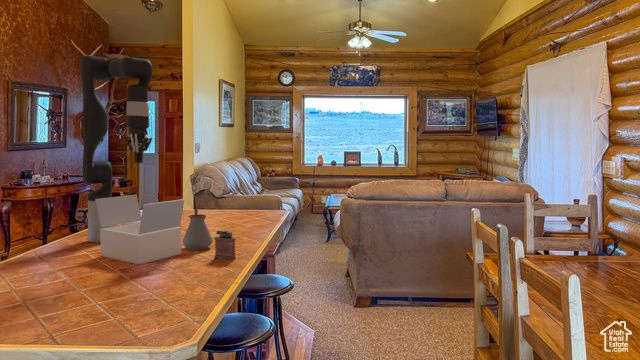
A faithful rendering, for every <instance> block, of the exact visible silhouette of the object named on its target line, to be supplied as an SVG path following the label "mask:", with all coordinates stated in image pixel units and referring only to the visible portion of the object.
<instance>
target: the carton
mask: <svg viewBox="0 0 640 360" xmlns="http://www.w3.org/2000/svg"><path fill="white" fill-rule="evenodd" d="M140 224H141V221H137V222H131V223H125V224H119V225H113V227H108V228H102V229H100V238H101V242H100V256H101V257H105V258H108V259H114V260H116V261H117V260H118V261H121V262H127V263H130V264H135V265H144V264H149V263H151V262H156V261H159V260H163V259H167V258H171V257H174V256H175V257H176V256H178V255H182V233H181V232H182V230H181V229H182V228H181V226H179V227H174V228H169V229H164V230H159V231H153V232H148V233H143V234H139V231H140Z"/></svg>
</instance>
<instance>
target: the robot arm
mask: <svg viewBox="0 0 640 360" xmlns="http://www.w3.org/2000/svg"><path fill="white" fill-rule="evenodd" d="M153 72H154V69H153V64H152V63H151V61H150V60H149V59H146V58H140V57H133V56H132V57H130V56H125V57H121V58H115V59H111V58H110V59H109V58H107V57H104V56H97V55H96V56H95V55H84V56H83V57H82V58H81V61H80V76H81V89H82V130H83V131H82V134H83V135H82V137H83V151H82V153H83V154H82V170H81V171H82V180H83V183H84V184H86V185H93V184H94V185H95V184H101V186H100V187H99V188H98V189H95V190H94V191H91V192H89V193H88V194H87V210H88V211H87V215H88V216H87V235H88V236H87V237H88V238H87V239H88V241H89V242H90V243H95V244H96V243H97V244H98V243H100V244H101V238H100V229H102V228H108V227H114V225H112V226H106V227H101V226H100V221H99V216H98V211H97V206H96V201H95V199H100V198H109V197H113V166H112V164H111V162H110V161H107V160H102V161H101V160H98V161H97V160H96V161H94V160H93V159H94V156H95V155H94V154H95V152H96V150H97V148H98V147H99V145H100V143H101V142H102V141H103V139H104V138H105V136H106V135H107V133H108V130H109V114H108V111H107V109H106V107H105V106H104V104H103V103H102V101H101V100H100V98H99V97H98V95H97V92H96V90H95V85H94V81H109V80H112V79H115V78H117V79H118V78H119V79H129V78H130V79H131V78H132V79H139V80H138V82H137V83H135V84H130V85H128V86H126V127H127V128H128V129H129V131H128V136H124V140H125V142H126V144H127V146H128V148H129V151H132V152H133V153H134V156H133V157H134V163H135V164H141V163H142V164H143V160H144V159H143V158H144V157H143V154H144V152H147V151H148V149H149V147H150V145H151V143H152V141H153V138H152V137H150V136H149V135H148V129H149V128H150V107H149V93H148V92H149V88H150V83H151V79H152V76H153Z"/></svg>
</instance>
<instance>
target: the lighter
mask: <svg viewBox="0 0 640 360" xmlns="http://www.w3.org/2000/svg"><path fill="white" fill-rule="evenodd" d="M216 235H219V236H214V240H215V241H214V242H215V243H214V247H215V248H214V249H215V250H214V251H215V252H214V253H215V255H214V258H215V259H217V258H218V259H219V260H225V259H234V260H236V259H237V256H236V241H237V239H236V237H233V232H232V231H229V230H216Z"/></svg>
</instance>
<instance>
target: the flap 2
mask: <svg viewBox="0 0 640 360" xmlns="http://www.w3.org/2000/svg"><path fill="white" fill-rule="evenodd" d="M184 204H185V199H184V198H181V199H176V200H175V199H173V200H169V201H168V200H167V201H159V202H152V203H146V204H145V203H143V204H142V210H141V211H142V212H141V221H140V222H141V224H140V231H139V234H143V233H148V232H153V231H159V230H164V229H169V228H174V227H181V223H182V215H183V210H184V207H185V206H184Z"/></svg>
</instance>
